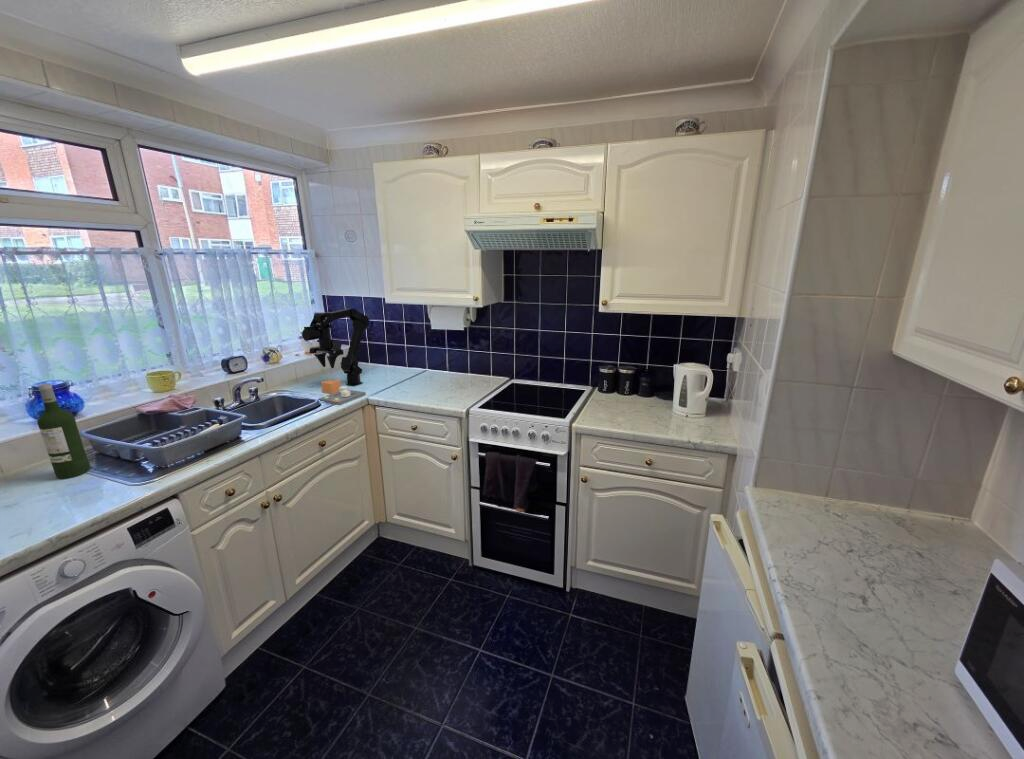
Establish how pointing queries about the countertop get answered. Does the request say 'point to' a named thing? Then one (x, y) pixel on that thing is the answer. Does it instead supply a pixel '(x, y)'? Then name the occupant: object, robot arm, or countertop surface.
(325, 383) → the lockout cap
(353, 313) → the robot arm
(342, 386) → the breaker
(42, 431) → the wine bottle
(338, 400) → the grey flat panel
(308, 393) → the countertop surface
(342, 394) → the breaker
